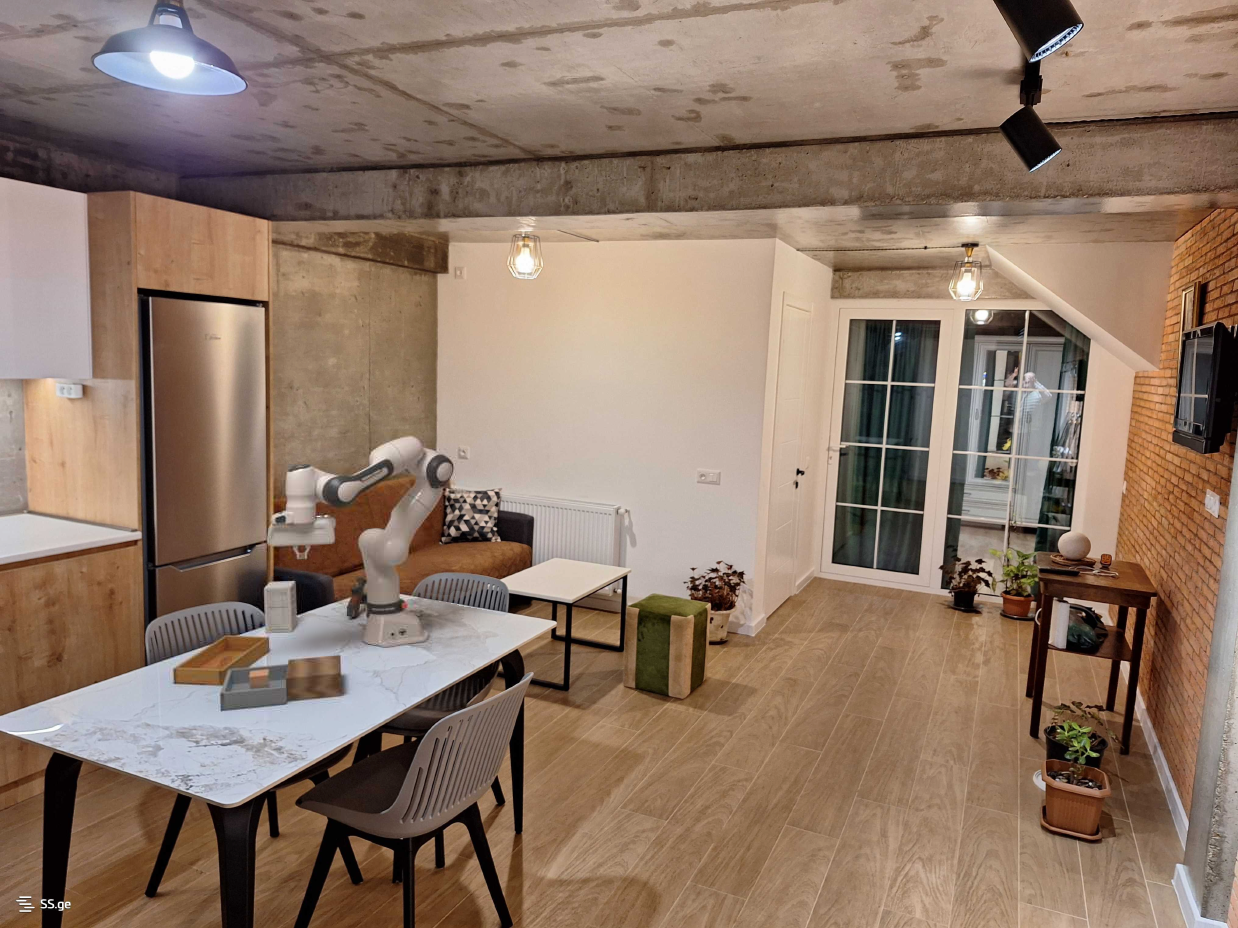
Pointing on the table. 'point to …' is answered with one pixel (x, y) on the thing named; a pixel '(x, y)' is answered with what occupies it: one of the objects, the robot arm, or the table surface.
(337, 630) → the table surface
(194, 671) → the tray
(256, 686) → the sage tile
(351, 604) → the gun
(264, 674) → the terracotta tile
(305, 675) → the walnut ledge
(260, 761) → the table surface
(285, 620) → the white tall block
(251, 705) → the bin
